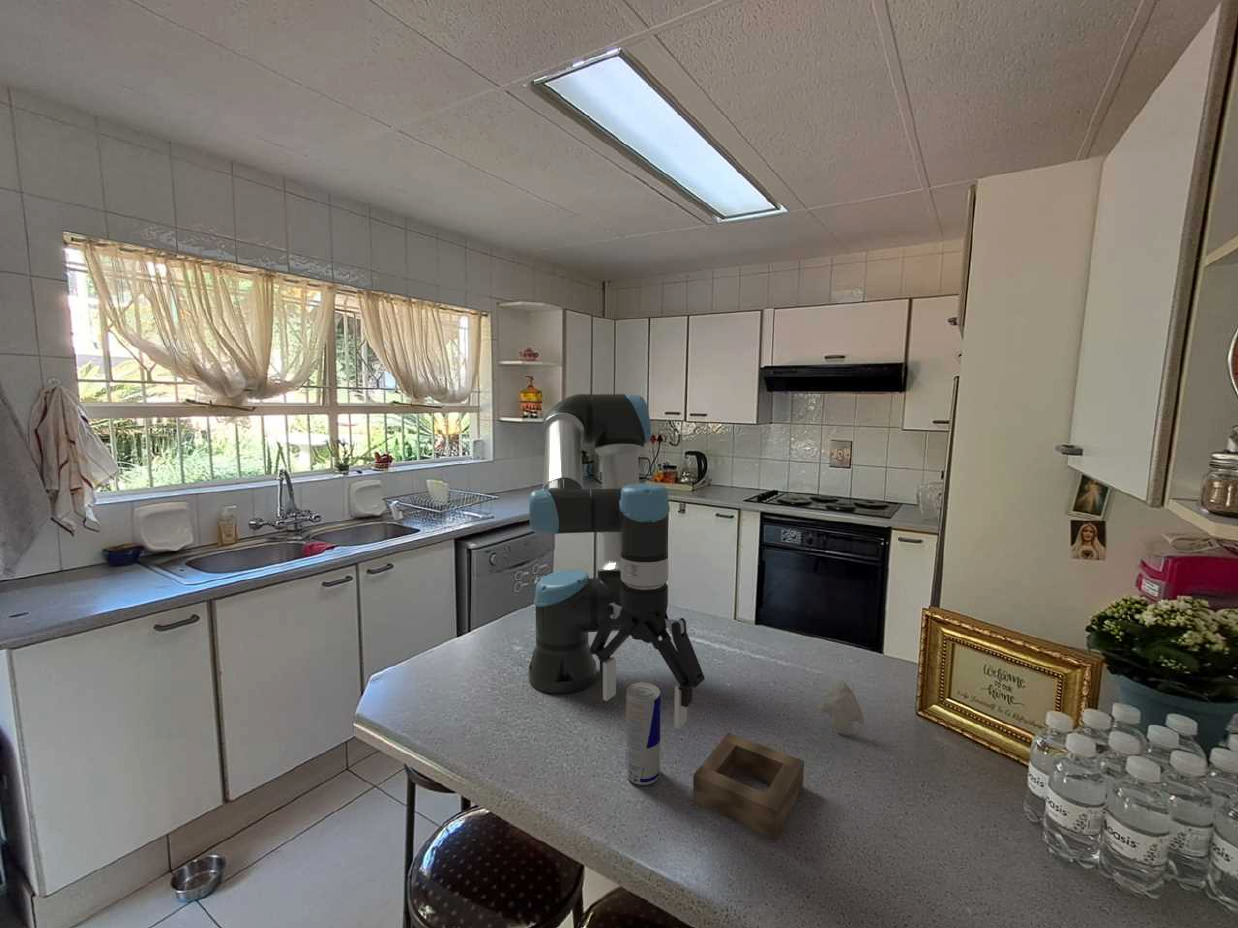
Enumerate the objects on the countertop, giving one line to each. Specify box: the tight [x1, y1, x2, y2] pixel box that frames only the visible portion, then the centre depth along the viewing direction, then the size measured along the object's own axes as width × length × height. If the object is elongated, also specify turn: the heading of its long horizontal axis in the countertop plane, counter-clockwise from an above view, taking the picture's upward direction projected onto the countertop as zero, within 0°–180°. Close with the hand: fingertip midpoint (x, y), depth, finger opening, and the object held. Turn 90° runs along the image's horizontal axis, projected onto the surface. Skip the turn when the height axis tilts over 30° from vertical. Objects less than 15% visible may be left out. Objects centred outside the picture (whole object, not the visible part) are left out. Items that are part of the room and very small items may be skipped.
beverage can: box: [625, 682, 662, 786], centre depth 90 cm, size 6×6×15 cm
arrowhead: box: [819, 680, 865, 737], centre depth 102 cm, size 8×3×10 cm, turn 54°
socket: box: [692, 732, 805, 841], centre depth 86 cm, size 13×13×4 cm
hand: (643, 709), depth 89 cm, fingers open, 13 cm apart
